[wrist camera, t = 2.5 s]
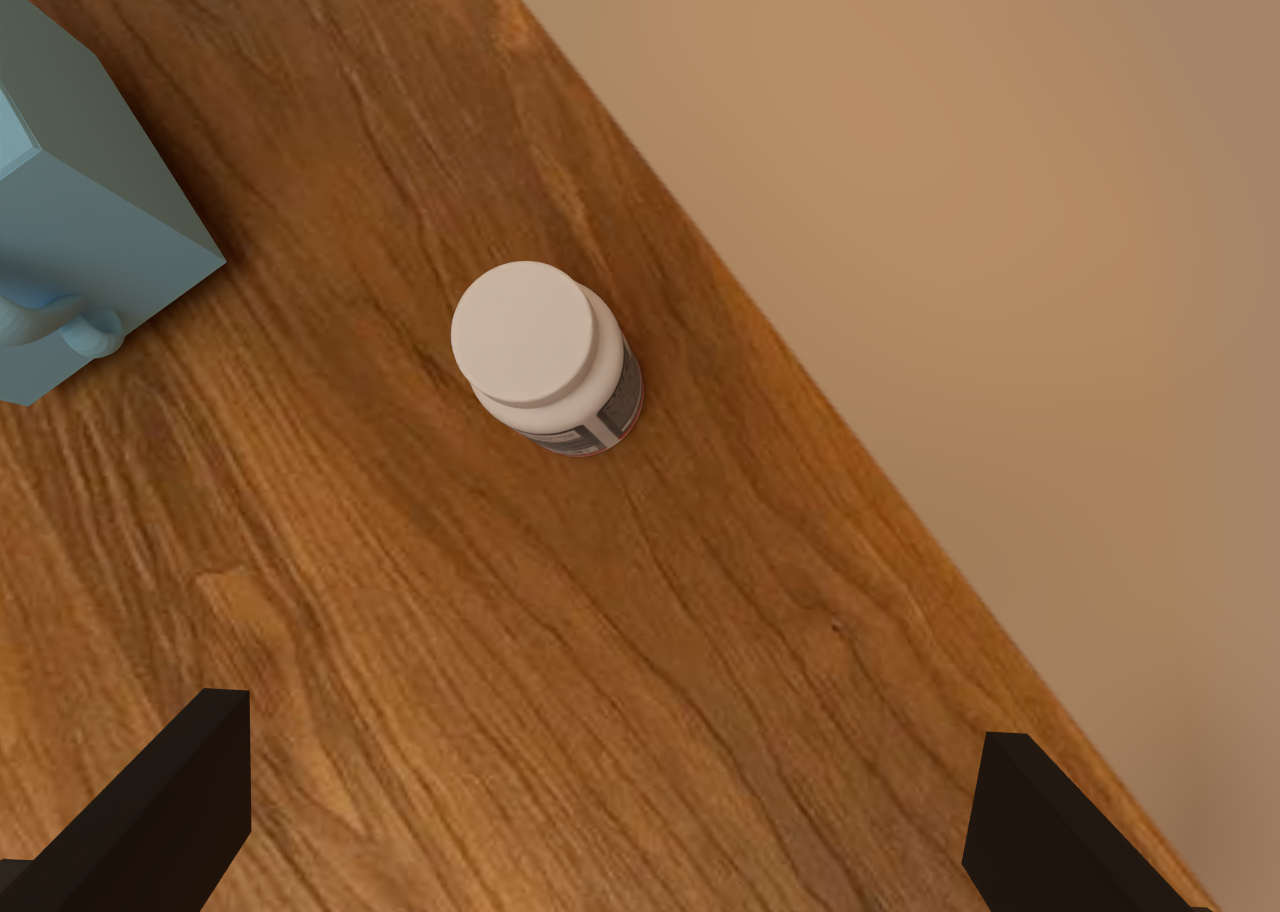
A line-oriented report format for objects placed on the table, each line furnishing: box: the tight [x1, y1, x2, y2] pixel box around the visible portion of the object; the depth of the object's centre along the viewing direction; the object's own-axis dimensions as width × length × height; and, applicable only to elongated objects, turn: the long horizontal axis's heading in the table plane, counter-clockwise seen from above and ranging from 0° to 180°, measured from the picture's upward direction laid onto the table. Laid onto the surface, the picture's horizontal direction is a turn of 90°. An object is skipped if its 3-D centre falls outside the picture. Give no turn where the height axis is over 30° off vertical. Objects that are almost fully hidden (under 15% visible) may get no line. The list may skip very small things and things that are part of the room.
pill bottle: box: [451, 261, 644, 457], centre depth 31 cm, size 6×6×10 cm
